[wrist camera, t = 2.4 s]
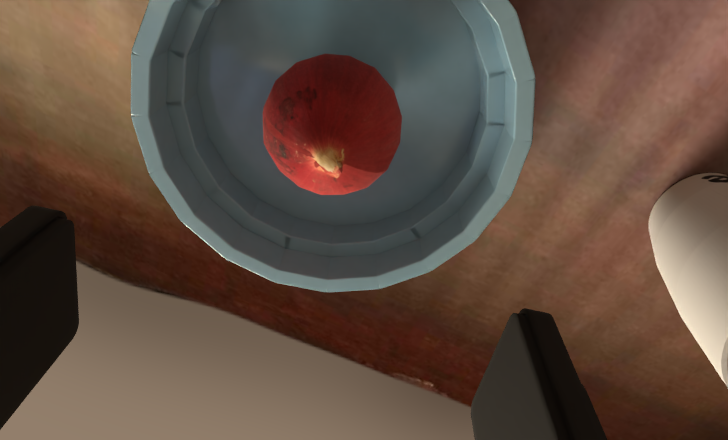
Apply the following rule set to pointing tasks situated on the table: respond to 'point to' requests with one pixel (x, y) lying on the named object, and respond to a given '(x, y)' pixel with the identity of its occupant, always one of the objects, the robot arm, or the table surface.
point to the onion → (332, 124)
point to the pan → (353, 210)
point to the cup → (696, 258)
